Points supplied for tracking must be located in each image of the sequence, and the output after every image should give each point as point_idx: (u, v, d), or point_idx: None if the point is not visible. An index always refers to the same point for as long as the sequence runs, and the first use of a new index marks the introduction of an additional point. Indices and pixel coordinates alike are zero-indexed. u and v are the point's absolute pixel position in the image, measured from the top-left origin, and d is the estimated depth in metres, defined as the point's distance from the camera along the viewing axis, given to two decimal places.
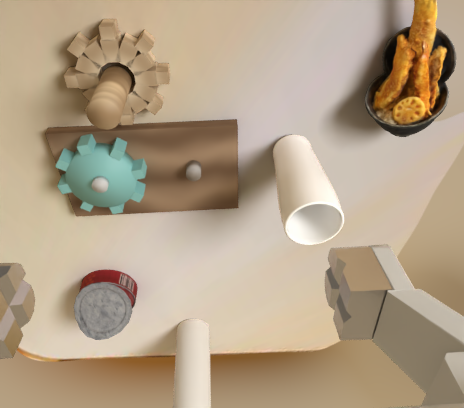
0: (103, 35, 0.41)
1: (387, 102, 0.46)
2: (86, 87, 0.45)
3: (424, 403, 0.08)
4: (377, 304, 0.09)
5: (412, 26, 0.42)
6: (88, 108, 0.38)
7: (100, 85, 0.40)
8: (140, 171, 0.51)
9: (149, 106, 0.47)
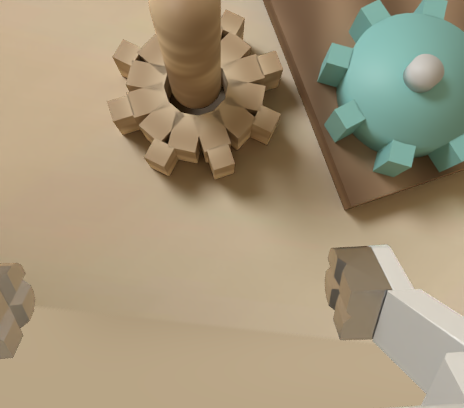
0: (124, 112, 0.25)
1: None
2: (224, 132, 0.25)
3: (424, 403, 0.08)
4: (377, 304, 0.09)
5: None
6: (176, 31, 0.17)
7: (167, 63, 0.21)
8: (366, 9, 0.25)
9: (230, 28, 0.26)
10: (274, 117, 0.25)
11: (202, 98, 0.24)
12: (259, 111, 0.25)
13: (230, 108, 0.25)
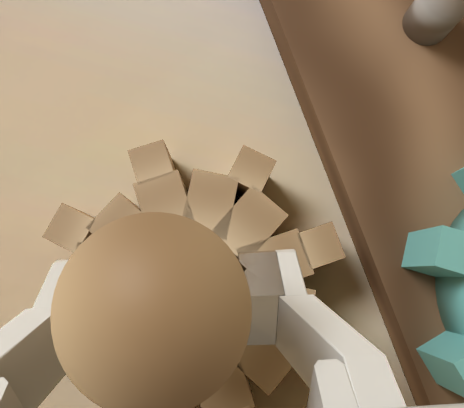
0: None
1: None
2: (242, 383, 0.14)
3: None
4: (273, 309, 0.09)
5: None
6: None
7: None
8: None
9: (252, 181, 0.15)
10: None
11: None
12: None
13: None
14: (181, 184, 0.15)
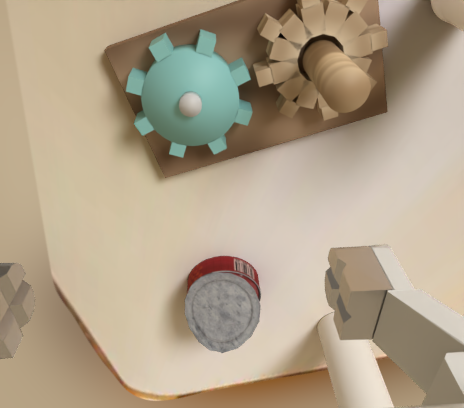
0: (305, 1, 0.32)
1: None
2: (282, 80, 0.35)
3: (424, 403, 0.08)
4: (377, 304, 0.09)
5: None
6: (328, 86, 0.28)
7: (323, 59, 0.30)
8: (242, 69, 0.35)
9: None
10: (289, 114, 0.37)
11: (306, 69, 0.33)
12: (295, 104, 0.37)
13: (299, 84, 0.36)
14: (365, 54, 0.34)
